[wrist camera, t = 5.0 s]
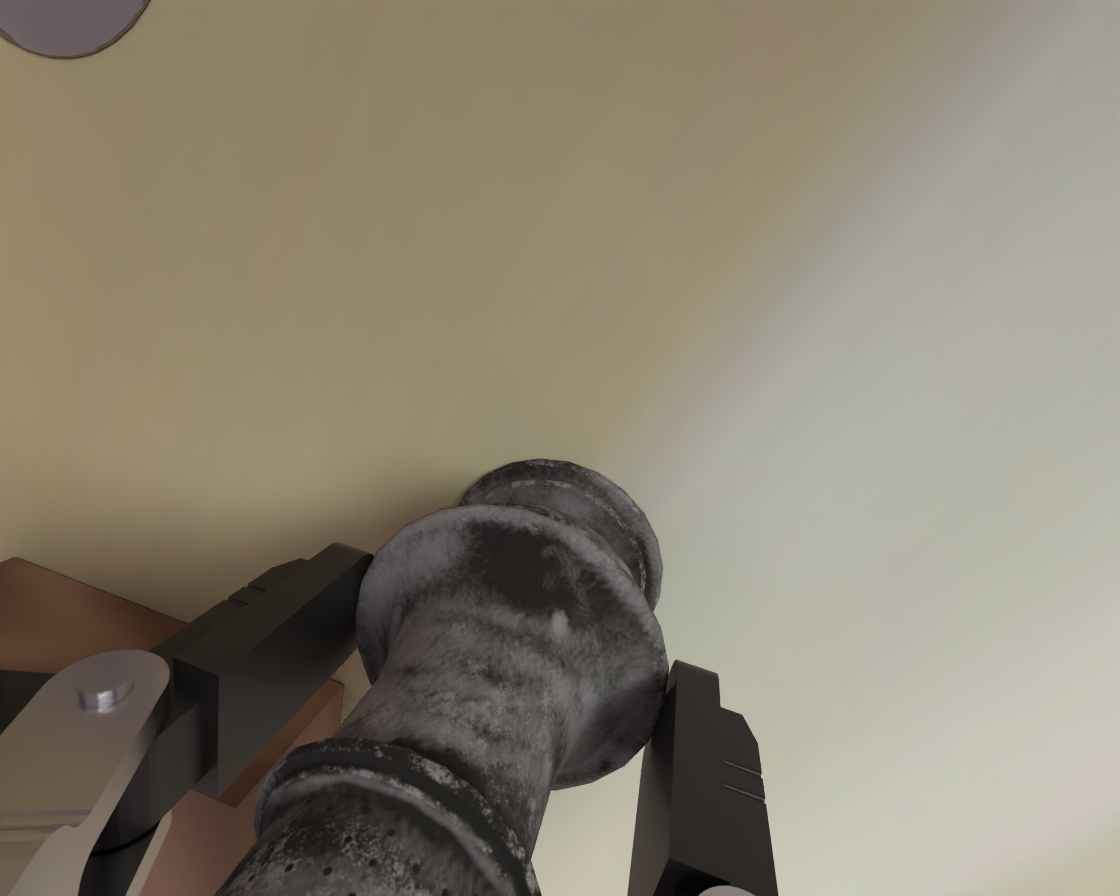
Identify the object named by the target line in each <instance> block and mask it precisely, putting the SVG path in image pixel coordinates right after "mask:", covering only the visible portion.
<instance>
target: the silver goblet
mask: <svg viewBox="0 0 1120 896" xmlns="http://www.w3.org/2000/svg"><path fill="white" fill-rule="evenodd" d="M148 2H149V0H0V35H2V36H3V37H4V38H6V39H7V40H8V41H10V42H12V43H14V44H16V45H18V46H20V47H22V48H24V49H26V50H28V51H29V52H33V53H37V54H40V55H44V56H47V57H51V58H76V57H81V56H85V55H89V54H93V53H96V52H97V51H99V50H101V49H103V48H105V47H107V46H109V45H110V44H112V43H114V42H115V41H116V40H117V39H118V38H119V37H121V36H122V35H123V34H124V33H125V32H126V31H127V30H128V29H129V28H130V27H131V26H132V25H133V24H134V22H135V21H136V20H137V18H138V17H139V15H140V14H141V13H142V11H143V10H144V8H145V7H146V5H147V4H148Z"/></svg>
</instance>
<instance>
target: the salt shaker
mask: <svg viewBox="0 0 1120 896" xmlns="http://www.w3.org/2000/svg"><path fill="white" fill-rule="evenodd" d="M662 570H663V566H662V561H661V556H660V551H659V545H658V540H657V538H656V536H655V534H654V532H653V530H652V528H651V526H650V524H649V522H648V520H647V518H646V516H645V514H644V513H643V512H642V510H641V509H640V508H639V507H638V506H637V505H636V504H635V502H634V501H633V500H632V499H631V498H630V497H629V496H628V495H627V493H626V492H625V491H624V490H623V489H621V488H620V487H618V486H617V485H615V484H614V483H612V482H611V481H609V480H608V479H607V478H605V477H604V476H602V475H601V474H599V473H597V472H595V471H592V470H589V469H587V468H584V467H581V466H579V465H576V464H573V463H571V462H565V461H556V460H547V459H534V460H528V461H521V462H514V463H510V464H508V465H506V466H504V467H502V468H499V469H497V470H495V471H493V472H491V473H488V474H487V475H486V476H484V477H483V478H482V479H481V480H480V481H479V482H478V483H476V484H475V485H474V486H473V487H472V488H471V489H470V490H469V491H467V492H466V493H465V495H464V497H463V498H462V500H461V502H460V503H459V505H458V507H451V508H444V509H440V510H438V511H436V512H433V513H431V514H429V515H427V516H424V517H422V518H420V519H418V520H415V521H413V522H411V523H409V524H407V525H406V526H404V527H403V528H402V529H401V530H400V531H399V532H398V533H397V534H395V535H394V536H393V537H392V538H391V539H390V540H389V541H388V542H387V543H386V544H384V545H383V546H382V547H381V548H380V549H379V550H378V551H377V553H376V555H375V557H374V558H373V560H372V562H371V564H370V566H369V567H368V569H367V571H366V573H365V575H364V576H363V578H362V580H361V585H360V590H359V596H358V602H357V608H356V614H355V617H356V630H357V642H358V650H359V653H360V655H361V658H362V661H363V664H364V667H365V670H366V673H367V675H368V678H369V681H370V684H371V685H372V687H371V688H370V689H369V691H368V692H367V693H366V694H365V696H364V697H363V698H362V699H361V701H360V702H359V703H358V704H357V705H356V707H355V708H354V709H353V710H352V712H351V713H350V714H349V715H348V717H347V718H346V719H345V720H344V722H343V723H342V724H341V725H340V727H339V728H338V729H337V730H336V732H335V733H334V734H333V735H332V737H331V738H326V739H322V740H319V741H316V742H312V743H309V744H306V745H302V746H299V747H296V748H295V749H294V750H292V751H291V752H290V753H289V754H287V755H286V756H285V757H283V758H282V759H281V760H279V761H278V762H277V763H276V764H275V765H274V766H273V767H272V768H271V769H270V770H269V772H268V774H267V776H266V777H265V779H264V781H263V783H262V785H261V786H260V788H259V790H258V792H257V795H256V803H255V811H254V819H253V823H254V830H255V835H256V843H255V844H254V845H253V846H252V848H251V849H250V850H249V851H248V853H247V854H246V855H245V857H244V858H243V859H242V860H241V862H240V863H239V864H238V865H237V867H236V868H235V869H234V870H233V872H232V873H231V874H230V876H229V877H228V878H227V879H226V881H225V882H224V883H223V884H222V886H221V887H220V888H219V889H218V891H217V892H216V893H215V895H214V896H542V895H541V892H540V889H539V885H538V882H537V879H536V875H535V872H534V869H533V865H532V862H531V857H532V854H533V850H534V847H535V843H536V840H537V836H538V833H539V830H540V826H541V823H542V819H543V816H544V812H545V809H546V805H547V802H548V798H549V795H550V791H551V790H560V789H565V788H570V787H574V786H579V785H584V784H589V783H592V782H594V781H596V780H598V779H600V778H602V777H604V776H606V775H608V774H610V773H612V772H614V771H616V770H617V769H619V768H621V767H623V766H625V765H626V764H627V763H628V762H629V761H630V760H631V759H632V758H633V757H634V756H635V755H636V754H637V753H638V752H639V751H640V750H641V749H642V748H643V747H644V746H645V745H646V744H647V743H648V742H649V740H650V738H651V736H652V734H653V732H654V729H655V727H656V724H657V722H658V719H659V717H660V714H661V712H662V709H663V706H664V702H665V699H666V690H667V681H668V673H669V665H668V660H667V655H666V650H665V645H664V640H663V635H662V630H661V627H660V625H659V623H658V621H657V619H656V617H655V615H654V613H653V611H654V609H655V606H656V604H657V602H658V599H659V597H660V589H661V579H662Z"/></svg>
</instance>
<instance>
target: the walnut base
mask: <svg viewBox="0 0 1120 896" xmlns="http://www.w3.org/2000/svg"><path fill="white" fill-rule="evenodd" d="M186 625H188V624H186V623H183V622H180V621H178V620H175V619H173V618H170V617H168V616H165V615H162V614H160V613H157V612H155V611H152V610H150V609H147V608H144V607H142V606H139V605H137V604H134V603H132V602H129V601H126V600H124V599H121V598H119V597H116V596H113V595H111V594H108V593H106V592H103V591H101V590H98V589H95V588H93V587H90V586H88V585H85V584H83V583H80V582H77V581H75V580H72V579H70V578H67V577H65V576H62V575H59V574H57V573H54V572H52V571H49V570H46V569H44V568H41V567H39V566H36V565H34V564H31V563H28V562H26V561H23V560H21V559H18V558H16V557H13V558H11V559H8V560H6V561H3V562H1V563H0V669H2V670H14V671H27V672H39V673H51V674H57V673H58V672H60V671H61V670H63V669H65V668H66V667H68V666H70V665H72V664H74V663H76V662H78V661H80V660H83V659H85V658H88V657H91V656H94V655H97V654H101V653H105V652H110V651H117V650H142V651H149V650H151V649H152V648H154V647H155V646H157V645H158V644H160V643H161V642H163V641H164V640H165V639H167V638H168V637H170V636H171V635H173V634H174V633H176V632H177V631H179V630H180V629H182V628H183V627H185V626H186ZM343 688H344V685H343V684H340V683H338V682H335V681H333V680H330V679H328V680H327V681H326V682H325V683H324V684H323V685H322V686H321V688H320V689H319V690H318V691H317V692H316V693H315V694H314V695H313V696H312V697H311V698H310V699H309V701H308V702H307V703H306V704H305V705H304V706H303V707H302V708H301V709H300V710H299V711H298V712H297V713H296V715H295V716H294V717H293V718H292V719H291V720H290V721H289V722H288V723H287V724H286V725H285V726H284V728H283V729H282V730H281V731H280V732H279V733H278V734H277V735H276V736H275V737H274V738H273V739H272V741H271V742H270V743H269V744H268V745H267V746H266V747H265V748H264V749H263V750H262V751H261V752H260V753H259V755H258V756H257V757H256V758H255V759H254V760H253V761H252V762H251V763H250V764H249V765H248V766H247V768H246V769H245V770H244V771H243V772H242V773H241V774H240V775H239V776H238V777H237V778H236V779H235V780H234V782H233V783H232V784H231V785H230V786H229V787H228V788H227V789H226V790H225V791H224V792H223V793H222V795H221V796H220V797H219V798H218V799H217V798H214V797H212V796H210V795H207V794H205V793H203V792H201V791H198V790H196V789H194V788H192V789H191V790H190V791H189V792H188V793H187V794H186V795H185V796H184V797H183V798H182V799H181V800H180V801H179V802H178V803H177V804H176V805H175V806H174V807H173V809H174V813H173V819H172V822H171V825H170V828H169V830H168V832H167V834H166V837H165V839H164V841H163V843H162V845H161V848H160V850H159V852H158V854H157V857H156V859H155V861H154V863H153V865H152V868H151V870H150V872H149V874H148V876H147V879H146V881H145V883H144V885H143V887H142V890H141V892H140V894H139V896H214V895H215V893H216V892H217V891H218V889H219V888H220V887H221V886H222V884H223V883H224V882H225V881H226V879H227V878H228V877H229V876H230V874H231V873H232V872H233V870H234V869H235V868H236V867H237V865H238V864H239V863H240V862H241V860H242V859H243V858H244V857H245V855H246V854H247V853H248V851H249V850H250V849H251V848H252V846H253V845H254V844H255V843H256V835H255V830H254V823H253V819H254V811H255V803H256V795H257V792H258V790H259V788H260V786H261V785H262V783H263V781H264V779H265V777H266V776H267V774H268V772H269V770H270V769H271V768H272V767H273V766H274V765H275V764H276V763H277V762H278V761H279V760H281V759H282V758H283V757H285V756H286V755H287V754H289V753H290V752H291V751H292V750H294V749H295V748H296V747H299V746H302V745H306V744H309V743H312V742H316V741H319V740H322V739H326V738H331V737H332V735H333V734H334V733H335V732H336V730H337V729H338V728H339V725H340V716H341V707H342V698H343Z"/></svg>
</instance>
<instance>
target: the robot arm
mask: <svg viewBox="0 0 1120 896" xmlns="http://www.w3.org/2000/svg"><path fill="white" fill-rule="evenodd" d="M373 558H374V555H372V554H370V553H367V552H364V551H361V550H358V549H355V548H352V547H350V546H347V545H344V544H341V543H333V544H331V545H329V546H328V547H327V548H325V549H324V550H323V551H321V552H320V553H318V554H317V555H316V556H314V557H313V558H311V559H310V560H309V561H307V560H304V559H301V558H300V559H297V560H294V561H291V562H288V563H285V564H282V565H279V566H276V567H273V568H271V569H269V570H268V571H266V572H265V573H263V574H262V575H261V576H259V577H258V578H256V579H255V580H253V581H252V582H250V583H249V584H248V586H247V587H243V588H241V589H240V590H238V591H237V592H235V593H234V594H232V595H231V596H229V599H228V600H227V601H226V600H223V601H222V602H220V603H219V604H217V605H216V606H214V607H213V608H212V609H210V610H209V611H207V612H206V613H204V614H203V615H201V616H200V617H198V618H197V619H195V620H194V621H192V622H191V623H189V624H188V625H186V626H185V627H183V628H182V629H180V630H179V631H177V632H176V633H174V634H173V635H171V636H170V637H168V638H167V639H165V640H164V641H163V642H161V643H160V644H158V645H157V646H155V647H154V648H152V649H151V650H149V651H142V650H117V651H110V652H105V653H101V654H97V655H94V656H91V657H88V658H85V659H83V660H80V661H78V662H76V663H74V664H72V665H70V666H68V667H66V668H65V669H63V670H61V671H60V672H58V673H57V674H51V673H39V672H27V671H14V670H2V669H0V896H139V894H140V892H141V890H142V887H143V885H144V883H145V881H146V879H147V876H148V874H149V872H150V870H151V868H152V865H153V863H154V861H155V859H156V857H157V854H158V852H159V850H160V848H161V845H162V843H163V841H164V839H165V837H166V834H167V832H168V830H169V828H170V825H171V822H172V819H173V813H174V809H173V807H174V806H175V805H176V804H177V803H178V802H179V801H180V800H181V799H182V798H183V797H184V796H185V795H186V794H187V793H188V792H189V791H190V790H191V789H192V788H194V789H196V790H198V791H201V792H203V793H205V794H207V795H210V796H212V797H214V798H217V799H218V798H219V797H220V796H221V795H222V793H223V792H224V791H225V790H226V789H227V788H228V787H229V786H230V785H231V784H232V783H233V782H234V780H235V779H236V778H237V777H238V776H239V775H240V774H241V773H242V772H243V771H244V770H245V769H246V768H247V766H248V765H249V764H250V763H251V762H252V761H253V760H254V759H255V758H256V757H257V756H258V755H259V753H260V752H261V751H262V750H263V749H264V748H265V747H266V746H267V745H268V744H269V743H270V742H271V741H272V739H273V738H274V737H275V736H276V735H277V734H278V733H279V732H280V731H281V730H282V729H283V728H284V726H285V725H286V724H287V723H288V722H289V721H290V720H291V719H292V718H293V717H294V716H295V715H296V713H297V712H298V711H299V710H300V709H301V708H302V707H303V706H304V705H305V704H306V703H307V702H308V701H309V699H310V698H311V697H312V696H313V695H314V694H315V693H316V692H317V691H318V690H319V689H320V688H321V686H322V685H323V684H324V683H325V682H326V681H327V680H328V679H329V678H330V677H331V676H332V675H333V674H334V672H335V671H336V670H337V669H338V668H339V667H340V666H341V665H342V664H343V663H344V662H345V661H346V659H347V658H348V657H349V656H350V655H351V654H352V653H353V652H354V651H355V649H356V648H357V646H358V642H357V630H356V617H355V614H356V608H357V602H358V596H359V590H360V585H361V580H362V578H363V576H364V575H365V573H366V571H367V569H368V567H369V566H370V564H371V562H372V560H373ZM761 773H762V771H761V763H760V756H759V748H758V743H757V741H756V739H755V737H754V736H753V734H752V732H751V730H750V728H749V726H748V725H747V723H746V721H745V719H744V717H743V715H741V714H739V713H736V712H733V711H730V710H727V709H724V708H722V707H720V691H719V677H718V674H717V673H714V672H711V671H708V670H705V669H702V668H700V667H697V666H694V665H691V664H688V663H685V662H682V661H679V660H675V661H674V663H673V665H672V668H671V670H670V673H669V676H668V681H667V690H666V699H665V702H664V706H663V709H662V712H661V714H660V717H659V719H658V722H657V724H656V727H655V729H654V732H653V734H652V736H651V738H650V740H649V742H648V743H647V744H646V745H645V749H644V754H643V761H642V769H641V778H640V787H639V796H638V805H637V814H636V823H635V832H634V841H633V850H632V859H631V868H630V877H629V886H628V895H627V896H778V889H777V882H776V875H775V867H774V860H773V852H772V845H771V837H770V830H769V823H768V815H767V808H766V804H764V800H765V793H764V785H763V779H762V778H761Z"/></svg>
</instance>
